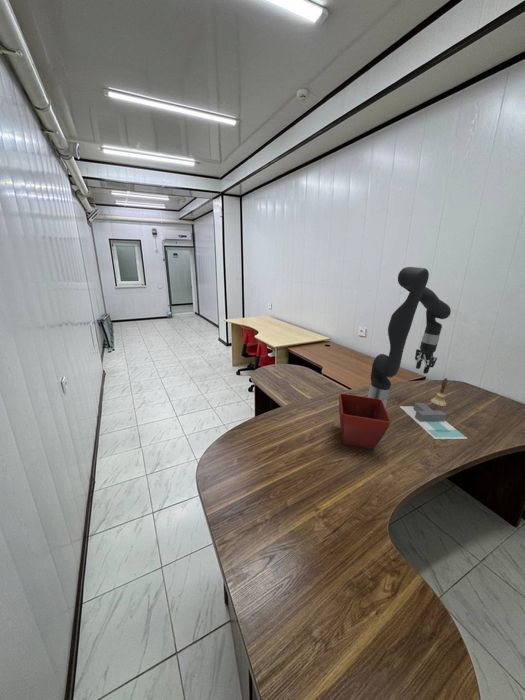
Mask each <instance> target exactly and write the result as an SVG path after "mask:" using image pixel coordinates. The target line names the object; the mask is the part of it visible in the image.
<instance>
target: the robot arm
mask: <svg viewBox="0 0 525 700" xmlns="http://www.w3.org/2000/svg"><path fill="white" fill-rule="evenodd" d="M429 275H430V273H429V270H428V269H427V268H425V267H414V266H405V267H403V268H402V269H401V270H400V271H399V273H398V275H397V283H398V285H399V286H400V287H401V288H403V289H405V290H406V291H407V292H409V293H408V295H407V297H406V299H405V301H404V302H403V303H401V304H400V306H399V307H397V309H395V311H394V312H393V313H392V315H390V316H391V317H390V319H389V323H388V326H387V334H388V335H387V336H388V340H389V345H390V346H389V353H388V355H387V354H383V353H380V354H378V355H377V356H376V357H375V358H374V359H373V362H372V365H371V366H372V367H371V372H370V386H369V390H368V395H367V397H368V398H375V399H380V400H382V401H383V404H384V406H385V409H387V408H386V407H387V404H388V399H389V395H390V390H391V387H392V383H391V381H390V380H389V378H394V376H396V375H397V374H398V372H399V370H400V367H401V363H402V359H403V358H402V357H403V353H404V350H405V347H406V346H405V345H406V342H407V339H408V336H409V333H410V331H411V327H412V324H413V321H414V317H415V314H416V311H417V308H418V306H419V303H421V305H423V307H424V308H425V309H426V311H425V316H426V317H425V318H426V319H425V320H426V321H425V324H426V326H425V329H424V332H423V335H422V337H421V338H422V339H421V342H420V345H419V349H417V348H416V350H415V356H414V360H416V365H415V369H417V370H419V369H421V366H422V363H424V368H423V372H422V373H423V374H428V373H429V371H430V368H434V367H435V364H436V362H437V360H438V358H437V357H435V356H434V353H435V352H436V351H437V347H438V343H439V340H440V335H441V332H442V329H443V325H442V324H441V323H440V322H438V321H437V320H436V319H440V320H445V319H448V318H449V317H450V315H451V307H450V306H449V305H448V304H447V303H445V302H444V301H443V300H441V299H440V298H439V296H437V294H436V293H435V292H434V291H433V290H432V289H430V288H428V287H426V286H427V284H428V281H429V277H430V276H429Z"/></svg>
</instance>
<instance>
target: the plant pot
mask: <svg viewBox="0 0 525 700" xmlns="http://www.w3.org/2000/svg"><path fill="white" fill-rule="evenodd" d="M338 397H339V399H338V404H339V405H338V408H339V412H338V413H339V424H340V431H341V432H340V433H341V442H342V444H343V445H346V446H351V447H357V448H362V449H368V450H373V449H374V448H375V447H376V446H377V445H378V443H380V441H381V440H382V439H383V437H384V435H385V434H386V432H387V431H388V429H389V427H390V424H391V422H392V420H391V418H390V417H389V414H388V411H387V410H386V409H387V408H385V406H384V404H383V401H382V400H380V399H375V398H368V396H361V395H355V394H348V393H342V392H341V393H339V396H338Z"/></svg>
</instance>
